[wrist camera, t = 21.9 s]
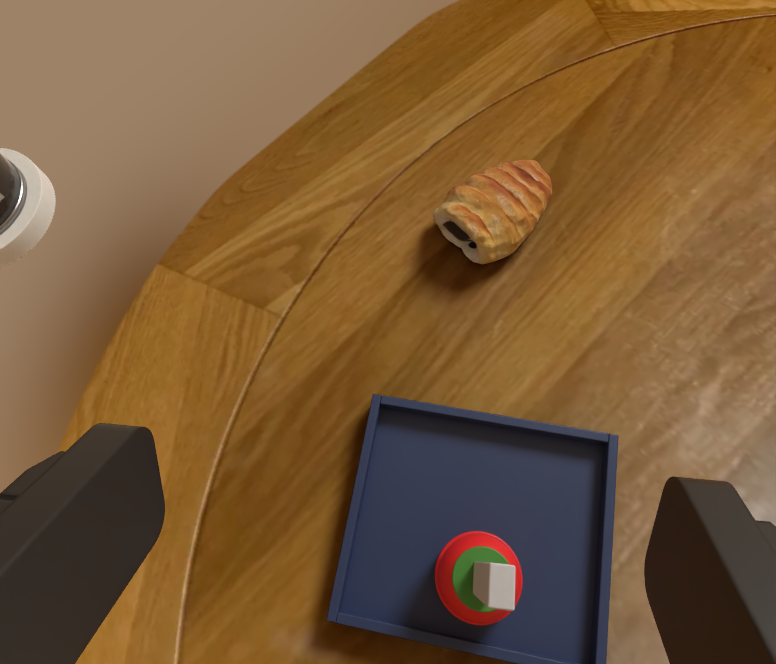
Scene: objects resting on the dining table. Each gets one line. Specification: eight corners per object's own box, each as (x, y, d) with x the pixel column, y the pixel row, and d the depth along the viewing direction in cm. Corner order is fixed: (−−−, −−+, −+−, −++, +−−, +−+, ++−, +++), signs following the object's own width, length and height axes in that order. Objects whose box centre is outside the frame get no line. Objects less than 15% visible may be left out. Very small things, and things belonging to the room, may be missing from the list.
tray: (331, 618, 36) (326, 620, 35) (375, 400, 41) (372, 393, 40) (597, 677, 34) (605, 683, 33) (610, 440, 39) (618, 434, 38)
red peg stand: (432, 615, 36) (430, 652, 21) (437, 529, 37) (440, 510, 23) (514, 624, 35) (570, 670, 21) (516, 537, 37) (569, 523, 23)
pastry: (508, 155, 48) (514, 124, 44) (571, 205, 46) (583, 176, 42) (425, 225, 46) (425, 198, 43) (487, 280, 44) (492, 256, 41)
